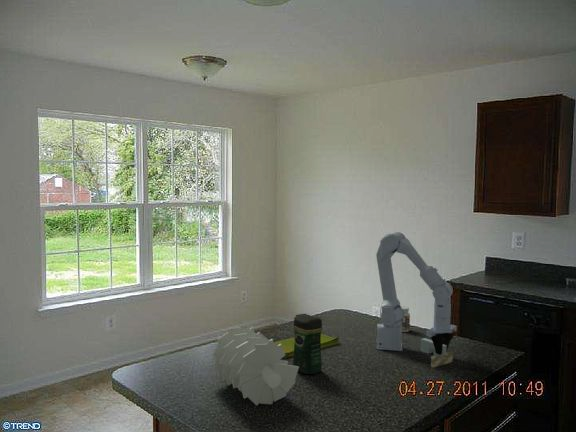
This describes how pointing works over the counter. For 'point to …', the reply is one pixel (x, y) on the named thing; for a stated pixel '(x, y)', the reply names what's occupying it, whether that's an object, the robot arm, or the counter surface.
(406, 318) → the pill bottle
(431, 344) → the notched plate
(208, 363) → the counter surface
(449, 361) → the birch board
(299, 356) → the coffee jar
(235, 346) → the spiral staircase
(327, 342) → the dish towel
